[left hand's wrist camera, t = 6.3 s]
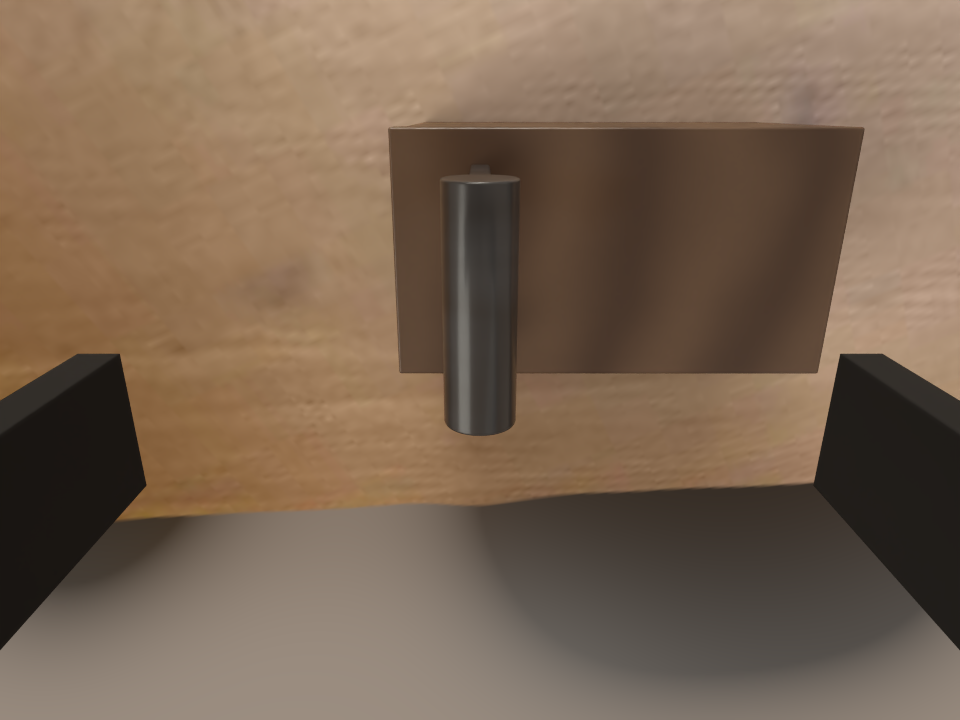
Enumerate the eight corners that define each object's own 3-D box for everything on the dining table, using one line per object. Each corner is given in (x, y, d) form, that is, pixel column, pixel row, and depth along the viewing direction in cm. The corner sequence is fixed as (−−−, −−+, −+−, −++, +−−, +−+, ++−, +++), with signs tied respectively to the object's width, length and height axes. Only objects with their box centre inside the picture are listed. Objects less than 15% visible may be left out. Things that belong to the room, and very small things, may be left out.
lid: (402, 363, 28) (369, 470, 20) (392, 126, 25) (346, 134, 17) (804, 363, 28) (941, 471, 20) (848, 126, 25) (1035, 134, 17)
